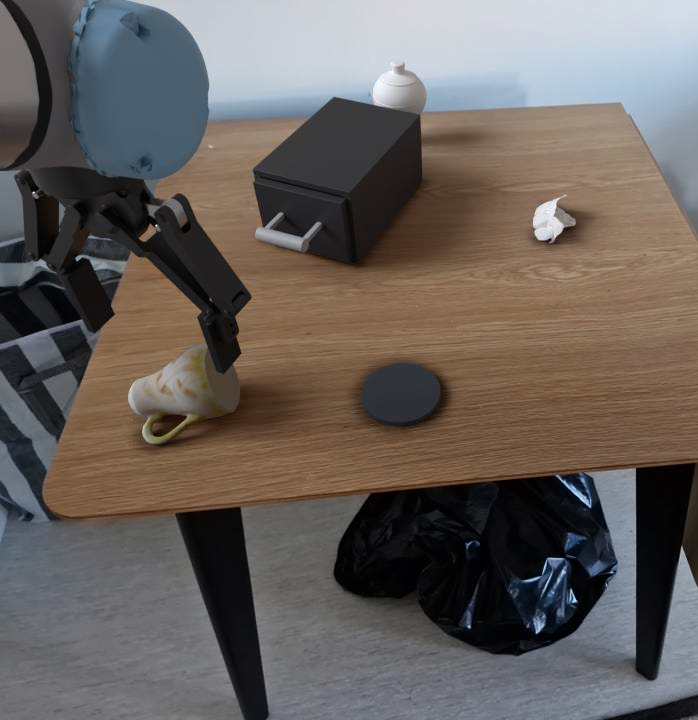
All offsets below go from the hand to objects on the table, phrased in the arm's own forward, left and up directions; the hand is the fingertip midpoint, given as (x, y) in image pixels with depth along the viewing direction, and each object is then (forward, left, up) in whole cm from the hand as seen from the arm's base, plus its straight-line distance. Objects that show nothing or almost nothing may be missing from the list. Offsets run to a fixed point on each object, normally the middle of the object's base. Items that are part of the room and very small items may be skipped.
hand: (164, 342), depth 65 cm
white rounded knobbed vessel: (+55, +2, -9) cm, 56 cm away
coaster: (+9, -19, -9) cm, 23 cm away
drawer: (+32, +1, -8) cm, 33 cm away
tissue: (+43, -25, -9) cm, 51 cm away
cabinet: (+36, +1, -9) cm, 38 cm away
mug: (0, 0, -9) cm, 9 cm away
